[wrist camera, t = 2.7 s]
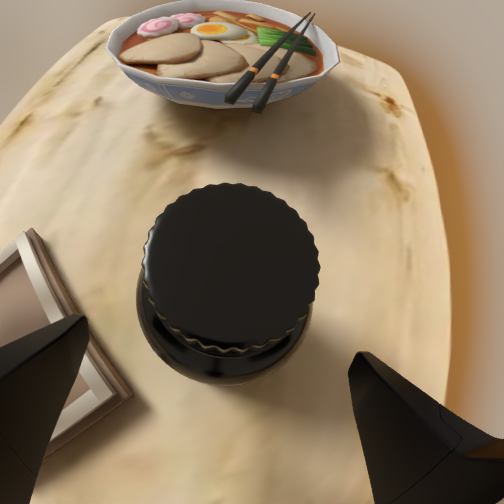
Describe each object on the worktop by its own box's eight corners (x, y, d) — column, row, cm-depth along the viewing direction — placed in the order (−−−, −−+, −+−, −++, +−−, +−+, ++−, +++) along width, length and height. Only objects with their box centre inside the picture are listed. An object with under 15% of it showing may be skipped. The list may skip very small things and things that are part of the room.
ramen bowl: (185, 30, 34) (188, -15, 27) (334, 71, 34) (353, 24, 26) (66, 128, 23) (45, 64, 16) (284, 203, 23) (317, 127, 16)
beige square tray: (134, 394, 16) (124, 396, 14) (14, 478, 11) (-1, 484, 8) (39, 236, 19) (27, 222, 17) (-56, 329, 13) (-72, 322, 11)
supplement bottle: (187, 263, 20) (174, 130, 9) (283, 298, 20) (370, 198, 9) (148, 358, 17) (64, 324, 6) (252, 395, 17) (326, 422, 6)
